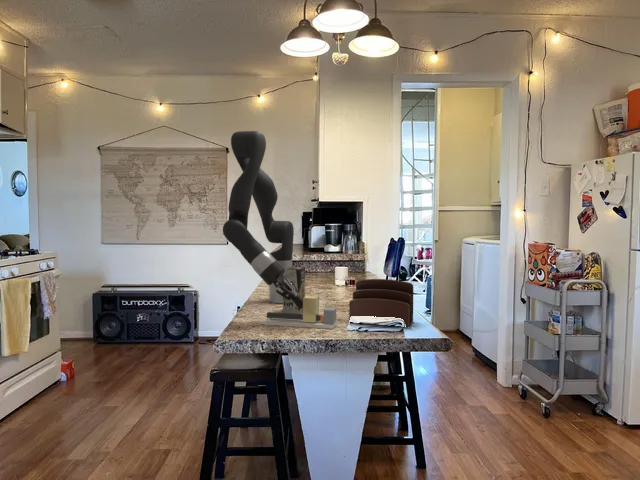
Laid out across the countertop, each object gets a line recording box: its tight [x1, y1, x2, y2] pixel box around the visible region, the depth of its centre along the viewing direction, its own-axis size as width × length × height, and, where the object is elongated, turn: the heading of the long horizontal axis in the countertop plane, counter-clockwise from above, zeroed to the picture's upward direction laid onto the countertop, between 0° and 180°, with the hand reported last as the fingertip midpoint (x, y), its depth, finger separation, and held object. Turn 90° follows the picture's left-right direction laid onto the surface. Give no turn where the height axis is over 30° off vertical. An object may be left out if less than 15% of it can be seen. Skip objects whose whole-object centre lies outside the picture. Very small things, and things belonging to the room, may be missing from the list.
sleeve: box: [302, 295, 320, 322], centre depth 146 cm, size 5×4×8 cm
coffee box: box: [282, 266, 306, 314], centre depth 167 cm, size 9×6×16 cm
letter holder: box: [348, 278, 414, 328], centre depth 150 cm, size 10×20×14 cm, turn 72°
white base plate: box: [262, 307, 339, 330], centre depth 147 cm, size 8×23×5 cm, turn 77°
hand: (303, 306), depth 146 cm, fingers closed
